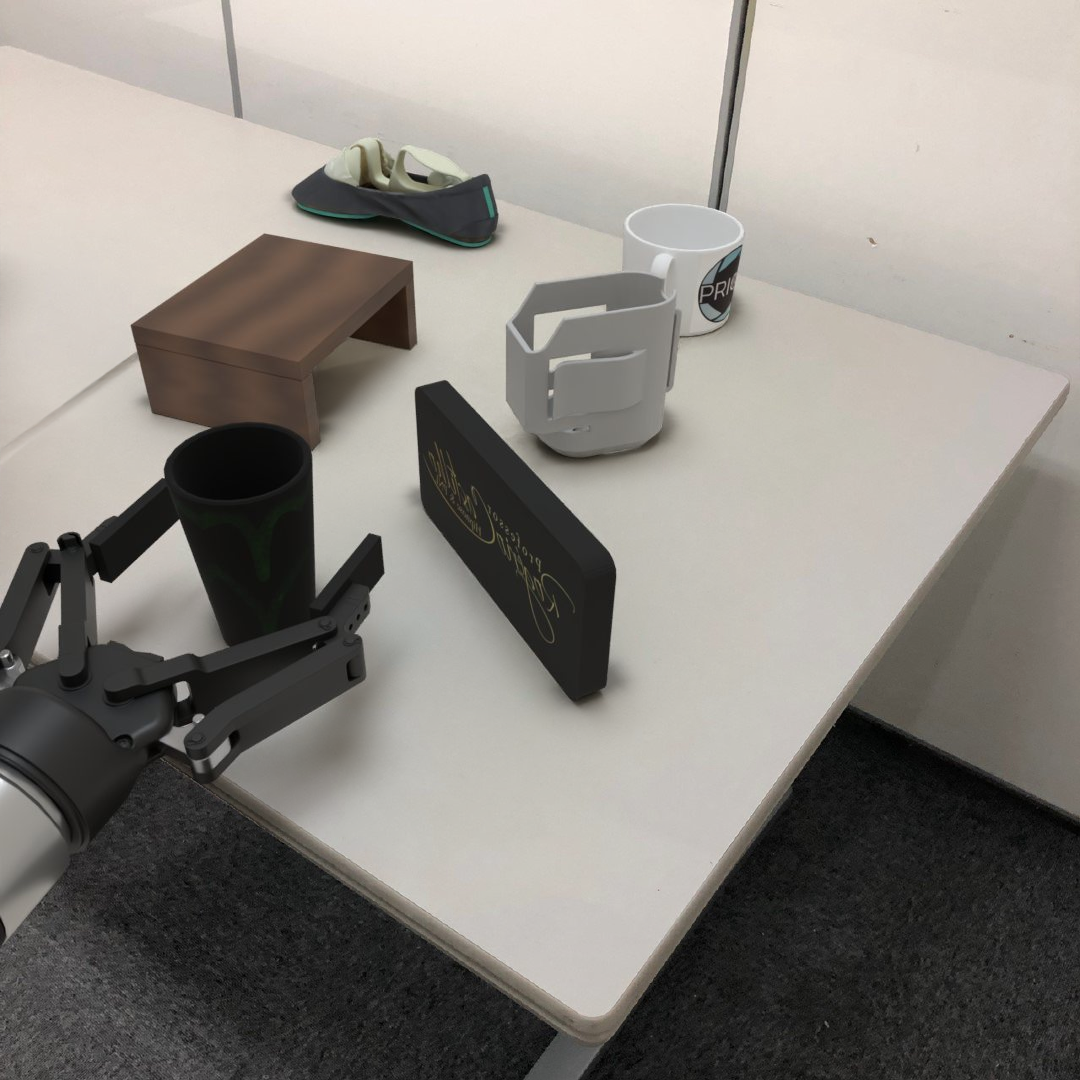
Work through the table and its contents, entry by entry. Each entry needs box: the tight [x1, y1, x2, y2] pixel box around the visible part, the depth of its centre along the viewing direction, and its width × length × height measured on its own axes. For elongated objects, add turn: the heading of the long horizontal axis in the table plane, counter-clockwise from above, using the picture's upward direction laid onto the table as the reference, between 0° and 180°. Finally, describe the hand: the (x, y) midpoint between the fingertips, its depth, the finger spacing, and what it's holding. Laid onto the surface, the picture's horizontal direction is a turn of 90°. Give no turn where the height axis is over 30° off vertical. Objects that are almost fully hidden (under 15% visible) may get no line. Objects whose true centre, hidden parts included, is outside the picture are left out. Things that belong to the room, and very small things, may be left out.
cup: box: [163, 422, 317, 648], centre depth 60 cm, size 8×8×12 cm
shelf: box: [130, 232, 418, 452], centre depth 84 cm, size 14×18×8 cm
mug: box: [621, 203, 746, 337], centre depth 93 cm, size 13×10×8 cm
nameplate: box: [414, 379, 617, 701], centre depth 63 cm, size 21×2×10 cm, turn 29°
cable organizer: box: [505, 270, 682, 459], centre depth 76 cm, size 7×12×12 cm, turn 110°
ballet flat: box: [291, 136, 500, 248], centre depth 109 cm, size 8×24×8 cm, turn 63°
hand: (272, 524), depth 61 cm, fingers open, 13 cm apart
